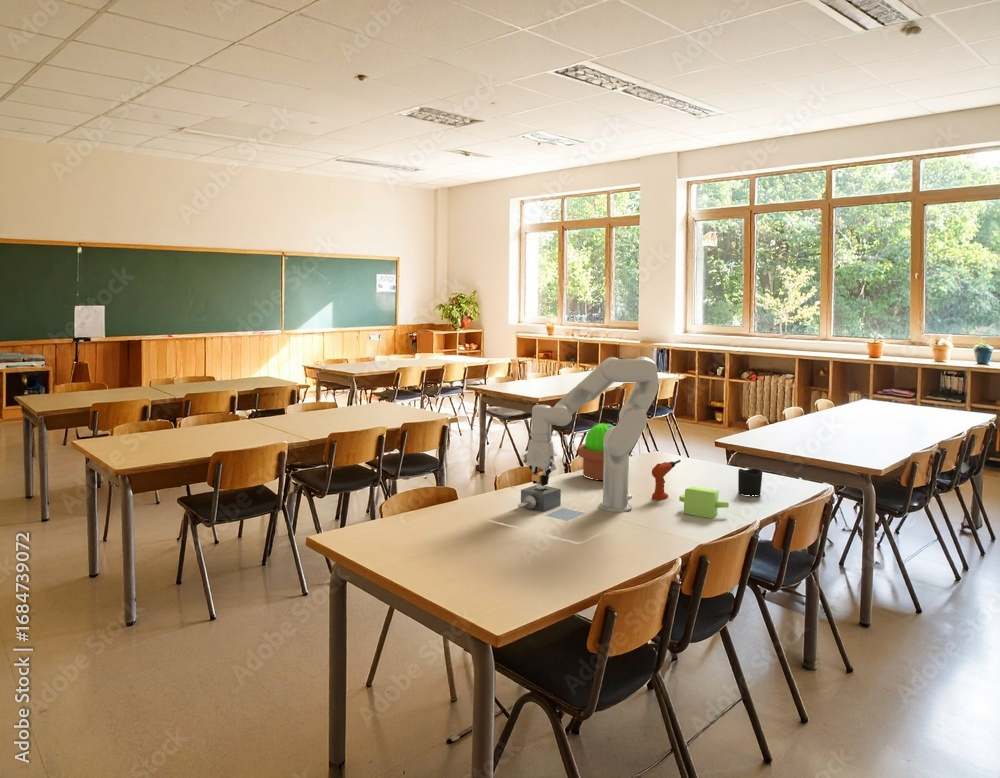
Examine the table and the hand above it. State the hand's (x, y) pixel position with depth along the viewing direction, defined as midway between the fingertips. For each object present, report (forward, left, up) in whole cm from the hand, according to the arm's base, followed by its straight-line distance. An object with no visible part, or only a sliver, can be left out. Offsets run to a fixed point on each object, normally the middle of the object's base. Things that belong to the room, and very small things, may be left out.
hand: (540, 483), depth 285 cm
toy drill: (-46, +30, -10) cm, 56 cm away
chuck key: (0, 0, -5) cm, 5 cm away
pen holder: (-71, +55, -10) cm, 91 cm away
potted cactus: (-57, -7, -10) cm, 58 cm away
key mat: (+3, +14, -9) cm, 17 cm away
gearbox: (-33, +52, -10) cm, 62 cm away
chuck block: (+4, 0, -9) cm, 10 cm away
